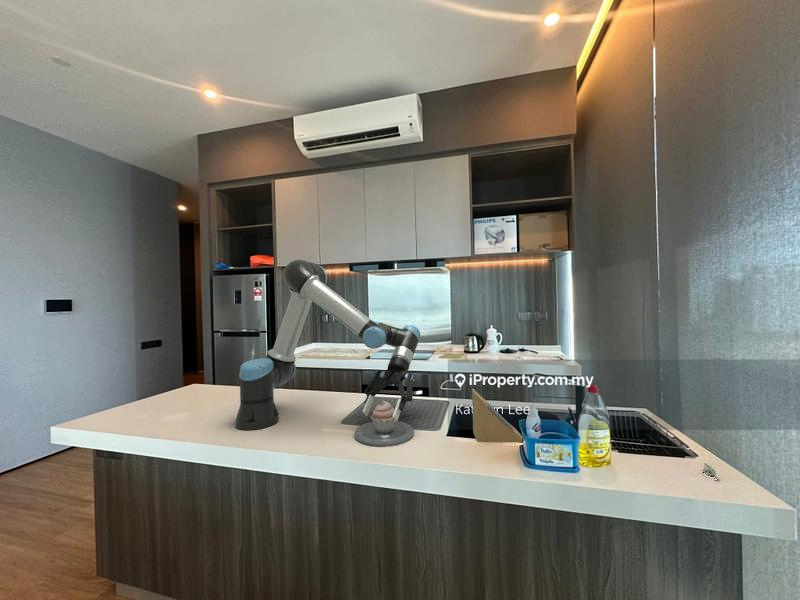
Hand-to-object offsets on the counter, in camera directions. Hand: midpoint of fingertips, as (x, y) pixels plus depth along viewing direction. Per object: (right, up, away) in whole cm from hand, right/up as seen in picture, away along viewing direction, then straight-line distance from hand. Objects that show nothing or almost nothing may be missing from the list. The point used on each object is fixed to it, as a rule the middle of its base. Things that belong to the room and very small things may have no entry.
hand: (379, 416), depth 111 cm
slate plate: (+1, -7, +2) cm, 7 cm away
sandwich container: (+39, -6, -2) cm, 39 cm away
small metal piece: (+82, -5, -29) cm, 87 cm away
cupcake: (+1, -6, +2) cm, 6 cm away
